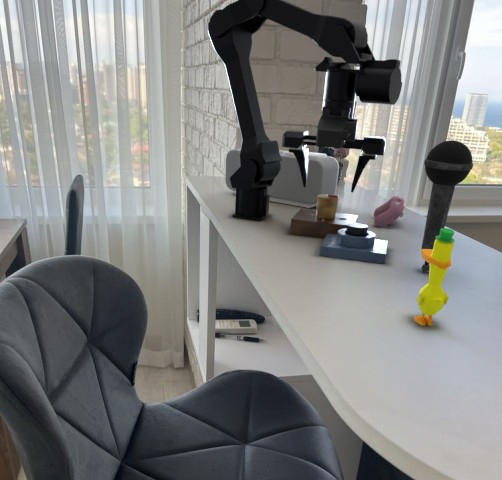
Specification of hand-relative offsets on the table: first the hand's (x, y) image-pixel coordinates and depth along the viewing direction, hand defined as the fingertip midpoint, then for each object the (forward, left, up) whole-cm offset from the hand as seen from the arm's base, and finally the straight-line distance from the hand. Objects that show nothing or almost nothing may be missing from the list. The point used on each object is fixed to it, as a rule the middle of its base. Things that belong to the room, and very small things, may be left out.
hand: (328, 189), depth 98 cm
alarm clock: (-15, +28, -9) cm, 33 cm away
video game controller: (+12, +14, -9) cm, 20 cm away
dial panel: (0, 0, -8) cm, 8 cm away
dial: (0, 0, -5) cm, 5 cm away
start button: (+7, -12, -5) cm, 15 cm away
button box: (+7, -12, -8) cm, 16 cm away
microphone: (+19, -18, -9) cm, 28 cm away
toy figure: (+18, -39, -9) cm, 44 cm away
